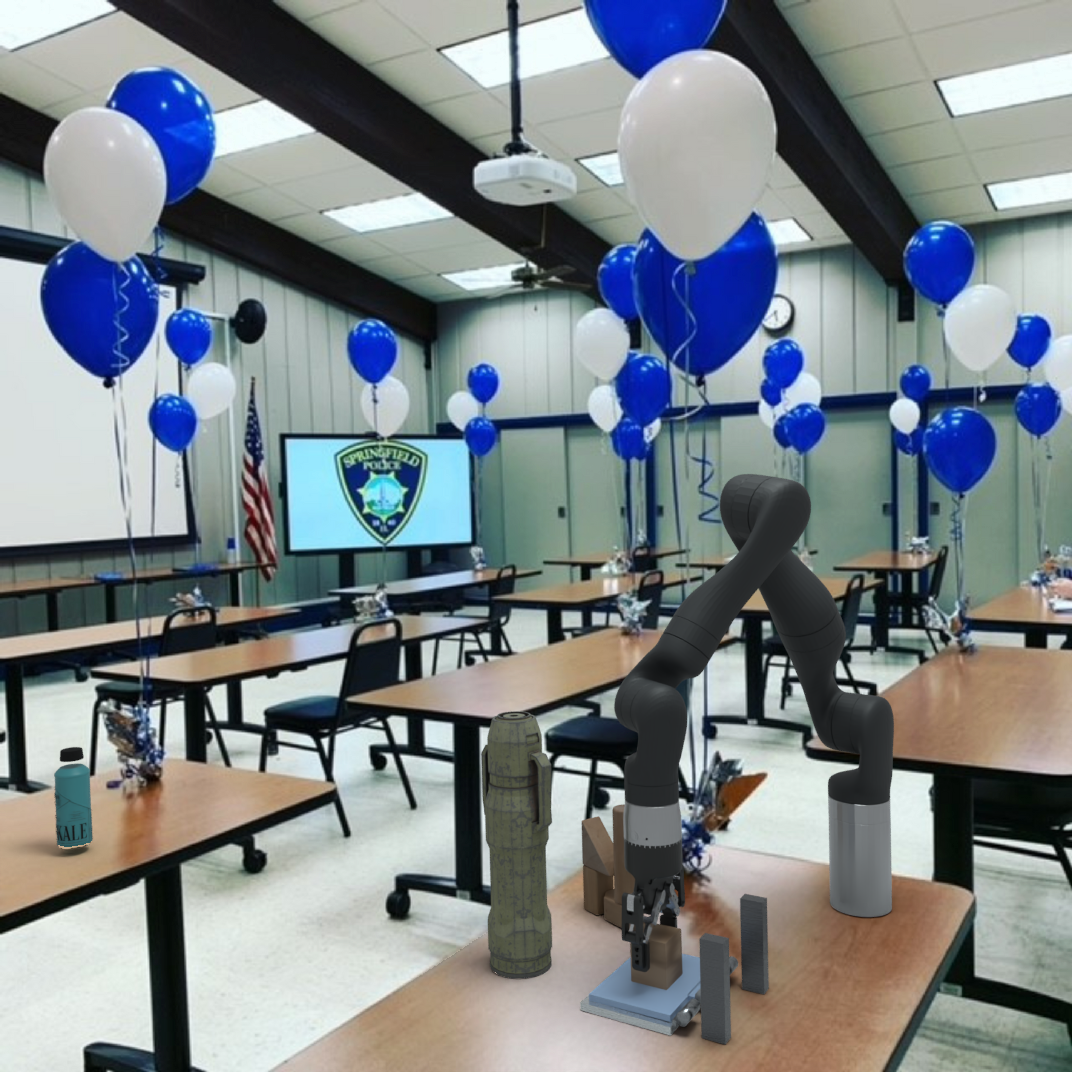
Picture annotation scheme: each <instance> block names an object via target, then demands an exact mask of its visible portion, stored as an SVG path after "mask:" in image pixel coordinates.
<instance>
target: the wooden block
mask: <svg viewBox="0 0 1072 1072" xmlns="http://www.w3.org/2000/svg"><path fill="white" fill-rule="evenodd" d="M624 806H625V803H623V804H618V805H614V806H613V807H612V810H611V811H612V838H611V836H610V834H609V833H608V831H607V829H606V827H605V824H604V823H603V821H602V819H601V817H600V816H594V817H589V818H586V819H583V820H581V849H582V850H581V853H582V860H581V861H582V886H583V909H584V910H586V911H587V912H590V913H591V914H592V915H593V914H594V915H595V916H600V915H603V916H604V917H603V918H604V919H605V921H607V922H609V923H611V924H612V925H615V926H616V927H619V928H620V929H622V894H623V893H624V892H625V893H630V894H631V893H633V890H634V885H635V878H634V877H633V876H632V875H631V874H630V873H629V872H628V871H627V870H626V869H625V866H624V824H623V815H624ZM643 916H645V914H643ZM630 926H631V924H629V930H630Z"/></svg>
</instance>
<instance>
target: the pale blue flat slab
mask: <svg viewBox="0 0 1072 1072" xmlns="http://www.w3.org/2000/svg"><path fill="white" fill-rule="evenodd" d="M682 971H683V974H682V975H681V976H680V977H679V978H678V979H677V980H676V981H675V982H674V983H673V984H672V985H671V986H670V987H669V988H668V989H667V990H664V989H660V988H656V987H652V986H648V985H644V984H640V983H636V982H632V981H631V956H630V957H629V958H628V959H626V960H625V961H624V962H623V963H622V964H620V966H618V967H617V968H616V969H615V970H614V971H613V972H611V974H610V975H609V976H608V977H606V978H605V979H603V981H601V982H600V984H598V985H597V986H596V987H595V988H594V989H593V990H592V991H590V992H589V993H588V995H589V1000H590V1001H593V1002H597V1003H601V1004H605V1005H608V1006H612V1007H616V1008H620V1009H623V1010H627V1011H631V1012H635V1013H639V1014H642V1015H646V1016H650V1017H654V1018H657V1019H661V1020H665V1021H669V1022H671V1021H672V1019H673V1018H674V1017H675V1016H676V1014H677V1013H678V1012H679V1011H680V1010H681V1009H682V1008H683V1007H684V1006H685V1005H686V1003H687V1002H688V1001H689V1000H690V999H696V1000H698V1001H699V1003H700V1005H701V988H700V956H694V955H692V954H691V955H690V954H686V953H682Z"/></svg>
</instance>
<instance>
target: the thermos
mask: <svg viewBox="0 0 1072 1072" xmlns="http://www.w3.org/2000/svg"><path fill="white" fill-rule="evenodd" d="M542 738H543V737H542V730H541V728H540V725H539V723H538V720H537V717H536V715H534V714H531V713H530V712H526V711H519V710H513V711H511V710H510V711H504V712H501V713H498V714H497V715H496V716H494V717H492V718H491V723H490V726H489V730H488V734H487V739H486V742H487V743H486V744H484V747H483V749H482V750H481V753H480V755H481V758H480V759H481V760H480V761H481V788H482V790H481V791H482V792H481V793H482V803H483V812H484V813H483V814H484V822H485V829H484V830H485V842H486V844H487V847H488V848H489V872H490V873H489V876H490V878H489V880H490V883H489V884H490V909H489V913H488V916H487V943H488V949H487V950H489V954H490V958H489V959H490V960H489V968H490V967H491V968H490V970H491V969H492V970H493V971H494V972H496V973H497V974H498V976H500V975H502V976H501V977H503V976H505V977H504V978H506V977H509V978H508V979H513V978H525V979H530V978H535V977H539V976H541V975H544V974H545V973H546V972H548V971H549V970H550V968H551V967H552V952H551V950H552V949H553V931H552V930H553V927H552V926H553V925H552V920H553V919H552V913H551V911H550V909H549V906H548V886H547V884H548V882H547V854H546V853H547V852H546V851H547V850H546V847H547V844H548V841H549V839H550V836H549V835H550V830H549V827H550V826H551V825H552V824H553V818H552V816H553V814H552V763H551V761H550V759H549V757H548V755H547V753H545V752H543V739H542ZM492 970H491V971H492ZM493 971H492V972H493ZM494 972H493V973H494ZM496 973H495V974H496ZM497 974H496V975H497Z"/></svg>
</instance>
